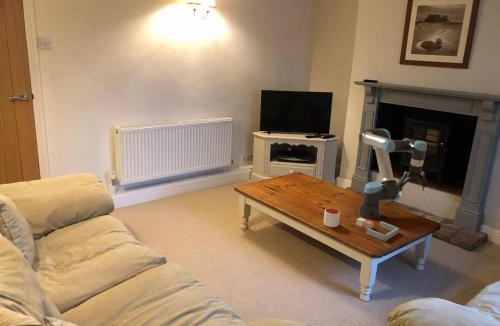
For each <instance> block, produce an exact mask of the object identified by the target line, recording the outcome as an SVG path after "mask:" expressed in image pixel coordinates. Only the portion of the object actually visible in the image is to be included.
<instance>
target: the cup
mask: <svg viewBox="0 0 500 326" xmlns="http://www.w3.org/2000/svg"><path fill="white" fill-rule="evenodd" d="M340 217H341V211H340V210H339V209H338V208H335V207H328V208H325V210H324V216H323V224H324V225H325V226H326V227H329V228H337V227H338V226H339V224H340Z"/></svg>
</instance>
